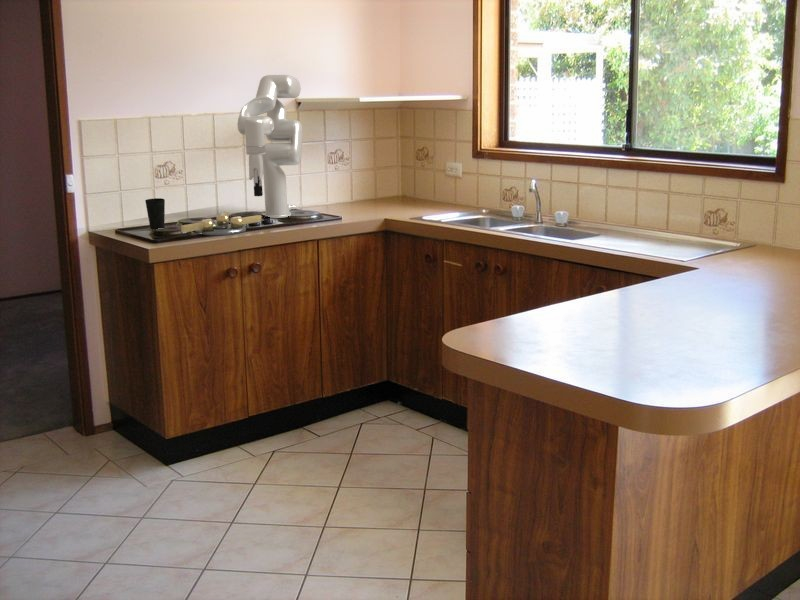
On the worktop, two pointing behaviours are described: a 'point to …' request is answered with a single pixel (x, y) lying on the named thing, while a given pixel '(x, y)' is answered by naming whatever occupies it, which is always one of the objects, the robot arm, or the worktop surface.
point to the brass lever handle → (244, 220)
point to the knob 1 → (223, 218)
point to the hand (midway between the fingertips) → (258, 195)
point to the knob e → (198, 226)
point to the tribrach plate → (222, 230)
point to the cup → (156, 212)
